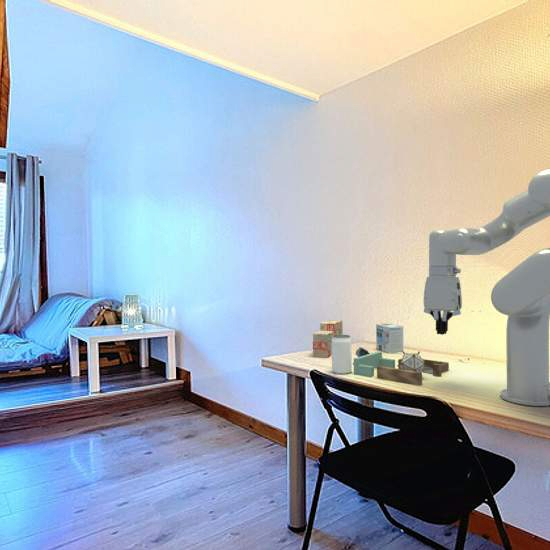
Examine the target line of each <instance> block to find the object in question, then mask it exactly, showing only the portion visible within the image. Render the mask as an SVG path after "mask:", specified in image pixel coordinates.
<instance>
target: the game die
mask: <svg viewBox="0 0 550 550" xmlns="http://www.w3.org/2000/svg"><path fill="white" fill-rule="evenodd" d="M402 354H403V355H402V358H401V359H402V360H401V363H400V365H398V364H397V365H396V366H397V368H398V367H399V366H400V367H401V369H403V370H409V371H416V372H422V371H423V369H424V366H425V364H428V363H425V362H424V361H423V359H424V358H422V356H421V355H420V354H421V351H420V350H419V351H418V352H417V353H416V352H414V353H411V352H408V353H406V352H405V351H403V353H402Z"/></svg>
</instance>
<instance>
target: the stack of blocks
mask: <svg viewBox="0 0 550 550" xmlns="http://www.w3.org/2000/svg"><path fill="white" fill-rule="evenodd" d="M334 335H344V334H343V320H334V319H331V320H330V319H329V320H325V321H322V322H319V330H318V331H315V332H313V333H312V357H313V358H326V359H327V358H330V357H332V339H333V336H334Z"/></svg>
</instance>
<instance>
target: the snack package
mask: <svg viewBox="0 0 550 550" xmlns="http://www.w3.org/2000/svg"><path fill="white" fill-rule="evenodd" d="M355 351H356V352H355V356H356V357H361V356H364V355H368V354H370V352H369V351H368V350H367V349H365V348H364V347H361V346H360V347H359V348H358V349H356V350H355ZM382 358H384V357H383V356H382ZM352 365H354V362H352Z"/></svg>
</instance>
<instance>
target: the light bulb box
mask: <svg viewBox="0 0 550 550" xmlns="http://www.w3.org/2000/svg"><path fill="white" fill-rule="evenodd" d="M375 330H376V345H375V346H376V350H378V349H379V350H378V351H381V350H382V351H381V352H384V351H385V352H384V353H386V352H388V353H387V354H389V353H391V354H398V353H397V352H404V325H399V324H394V323H388V322H387V323H376V327H375Z"/></svg>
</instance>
